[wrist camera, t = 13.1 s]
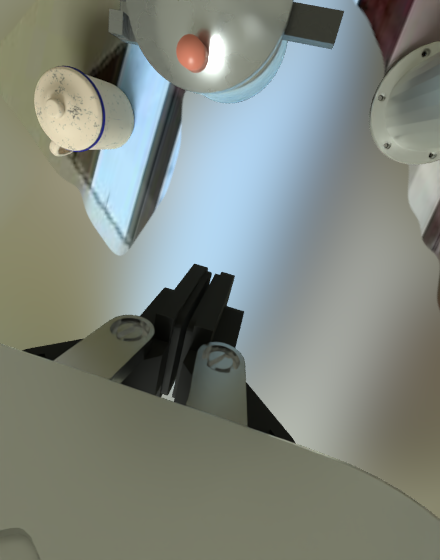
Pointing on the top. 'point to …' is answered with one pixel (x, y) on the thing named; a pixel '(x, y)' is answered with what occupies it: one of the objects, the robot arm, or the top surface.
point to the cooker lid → (208, 39)
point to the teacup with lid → (81, 111)
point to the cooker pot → (301, 28)
